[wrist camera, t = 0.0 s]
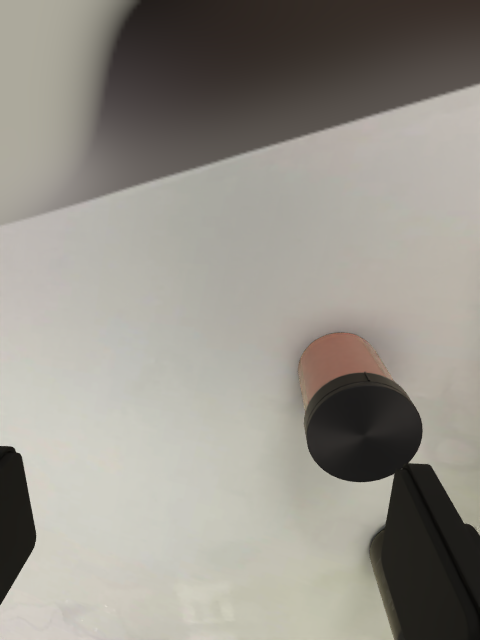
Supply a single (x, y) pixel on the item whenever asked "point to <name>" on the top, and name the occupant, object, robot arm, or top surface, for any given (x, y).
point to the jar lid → (362, 427)
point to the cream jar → (336, 362)
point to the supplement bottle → (384, 586)
